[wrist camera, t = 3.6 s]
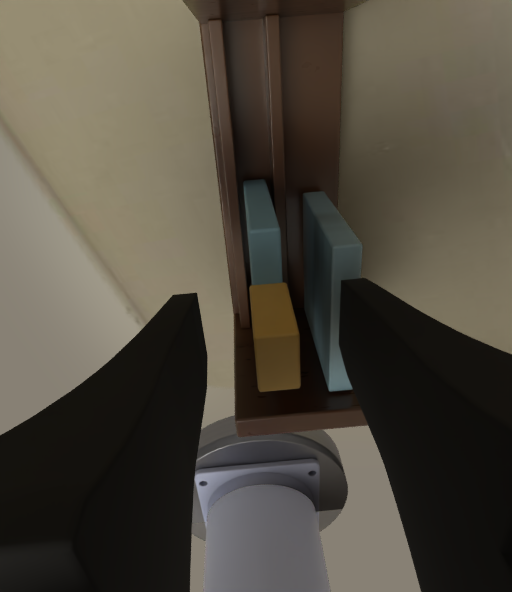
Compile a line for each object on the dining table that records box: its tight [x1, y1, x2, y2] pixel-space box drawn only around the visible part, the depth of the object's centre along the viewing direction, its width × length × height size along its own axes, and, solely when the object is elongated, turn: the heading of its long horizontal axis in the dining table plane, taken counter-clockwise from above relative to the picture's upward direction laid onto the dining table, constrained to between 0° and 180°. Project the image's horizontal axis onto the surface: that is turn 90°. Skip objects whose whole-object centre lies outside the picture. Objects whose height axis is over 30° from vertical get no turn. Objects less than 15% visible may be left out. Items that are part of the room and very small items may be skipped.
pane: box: [243, 179, 301, 392], centre depth 12 cm, size 5×1×7 cm, turn 4°
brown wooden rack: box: [183, 0, 368, 437], centre depth 13 cm, size 12×4×7 cm, turn 4°
